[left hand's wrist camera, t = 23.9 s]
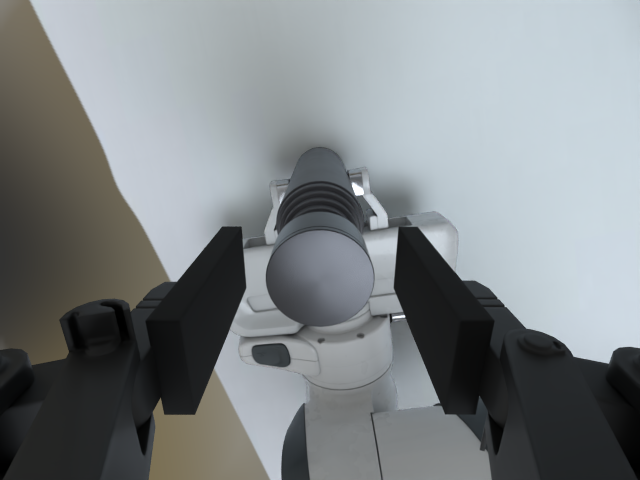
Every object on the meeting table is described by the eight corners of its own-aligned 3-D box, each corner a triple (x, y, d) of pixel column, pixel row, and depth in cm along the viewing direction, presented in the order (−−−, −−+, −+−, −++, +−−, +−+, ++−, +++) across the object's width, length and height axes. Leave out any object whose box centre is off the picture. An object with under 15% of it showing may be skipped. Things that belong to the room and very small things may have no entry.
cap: (382, 232, 14) (393, 253, 12) (344, 309, 15) (348, 340, 13) (292, 196, 14) (288, 212, 12) (260, 279, 15) (251, 306, 13)
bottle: (326, 137, 32) (337, 186, 12) (353, 178, 33) (405, 285, 13) (285, 166, 33) (232, 257, 13) (314, 205, 34) (305, 343, 14)
